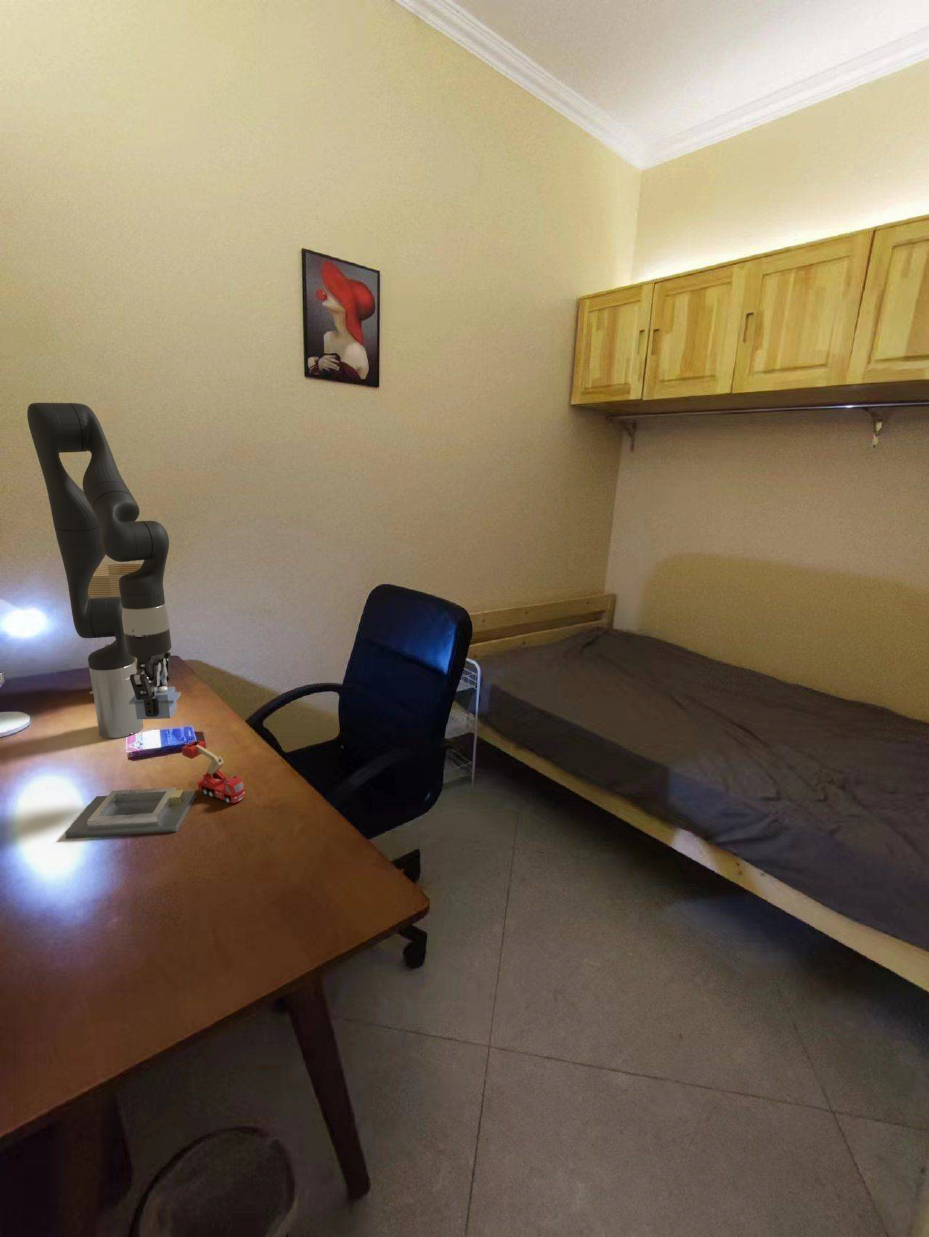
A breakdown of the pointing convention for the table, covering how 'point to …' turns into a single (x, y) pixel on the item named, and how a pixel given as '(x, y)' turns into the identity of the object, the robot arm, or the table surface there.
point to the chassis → (133, 813)
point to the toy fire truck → (215, 775)
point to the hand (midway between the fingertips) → (157, 710)
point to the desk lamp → (109, 582)
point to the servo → (159, 703)
